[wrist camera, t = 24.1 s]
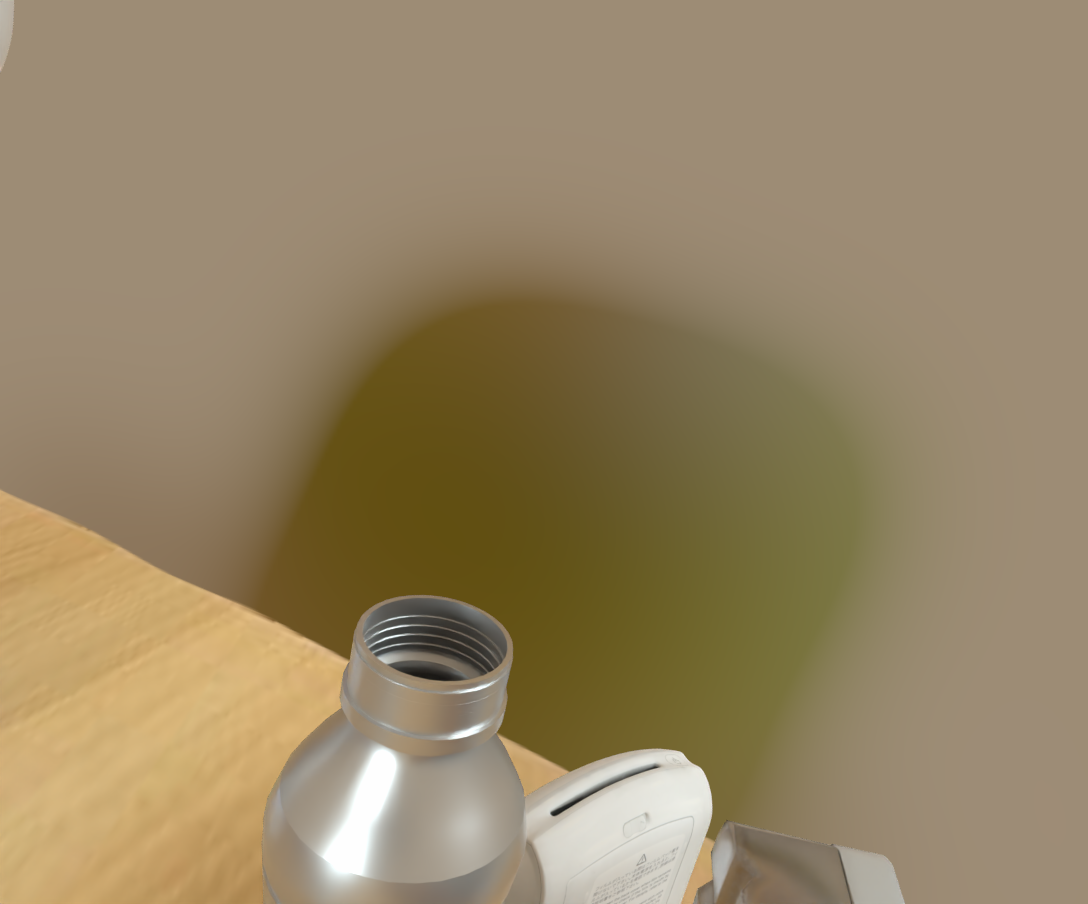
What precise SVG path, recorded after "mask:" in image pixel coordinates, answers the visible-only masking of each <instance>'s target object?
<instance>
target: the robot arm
mask: <svg viewBox="0 0 1088 904" xmlns="http://www.w3.org/2000/svg"><path fill="white" fill-rule="evenodd" d="M13 17H14V0H0V72H1V70H2V68H3V65H4V63H5V60H6V57H7V53H8V50H9V46H10V43H11V38H12V31H13V19H14V18H13ZM711 859H712V872H713V880H711V881H710V882H708V883H706V884H705V885H703V886H702V887H700V888H698V890H697V893H696V896H695V899H694V902H693V904H905V902H904V899H903V896H902V893H901V890H900V887H899V884H898V881H897V877H896V874H895V871H894V868H893V865H892V863H891V862H890V861H889V860H888V859H887V858H886V857H885V856H884V855H880V854H876V853H871V852H866V851H862V850H857V849H853V848H848V847H843V846H839V845H835V844H832V845H827V844H823V843H819V842H815V841H810V840H807V839H803V838H798V837H794V836H790V835H786V834H782V833H778V832H774V831H769V830H765V829H761V828H757V827H753V826H748V825H744V824H740V823H736V822H732V821H728V820H727V821H726V822H725V823H724V825H723V826H722V828H721V830H720V831H719V833H718V836H717V838H716V841H715V843H714V846H713V849H712V851H711Z"/></svg>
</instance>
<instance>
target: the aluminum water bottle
mask: <svg viewBox="0 0 1088 904" xmlns="http://www.w3.org/2000/svg"><path fill="white" fill-rule="evenodd" d="M512 660H513V645H512V640H511V638H510V636H509V633H508V632H507V630H506V629H505V628H504V627H503V626H502V624H501V623H499V622H498V621H497V620H496V619H495V618H494V617H492V616H491V615H489V614H488V613H486V612H484V611H483V610H481V609H479V608H477V607H474V606H472V605H470V604H467V603H464V602H461V601H458V600H454V599H450V598H445V597H438V596H430V595H411V596H401V597H397V598H392V599H388V600H386V601H383V602H380V603H378V604H376V605H375V606H373V607H371V608H370V609H368V610H367V611H366V612H365V613H364V614H363V615H362V616H361V618H360V620H359V622H358V625H357V628H356V630H355V632H354V639H353V645H352V651H351V657H350V662H349V663H348V665H347V667H346V669H345V671H344V673H343V678H342V684H341V691H340V702H341V707H342V708H341V709H339V710H338V711H337V712H335V713H334V714H333V715H331V716H330V717H329V718H327V719H326V720H325V721H324V722H323V723H321V724H320V725H319V726H318V727H317V728H316V729H315V730H314V731H313V732H312V733H311V734H310V735H309V736H307V737H306V738H305V739H304V740H303V741H302V742H301V743H300V745H299V746H298V747H297V748H296V749H295V750H294V751H293V753H292V754H291V755H290V757H289V759H288V760H287V762H286V764H285V766H284V768H283V769H282V771H281V773H280V775H279V777H278V778H277V780H276V782H275V784H274V786H273V788H272V790H271V792H270V794H269V796H268V798H267V803H266V808H265V812H264V820H263V834H262V869H263V904H503V902H504V900H505V898H506V897H507V895H508V893H509V891H510V888H511V886H512V884H513V881H514V879H515V876H516V874H517V871H518V868H519V865H520V863H521V860H522V858H523V855H524V853H525V846H526V839H527V822H526V808H525V798H524V790H523V786H522V784H521V781H520V779H519V776H518V774H517V771H516V769H515V767H514V765H513V763H512V761H511V759H510V757H509V754H508V752H507V750H506V748H505V746H504V745H503V743H502V742H501V740H500V739H499V737H498V736H497V734H496V732H497V730H498V729H499V727H500V725H501V724H502V721H503V717H504V712H505V708H506V703H507V691H506V685H507V681H508V677H509V672H510V669H511V665H512Z"/></svg>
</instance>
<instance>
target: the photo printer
mask: <svg viewBox="0 0 1088 904" xmlns="http://www.w3.org/2000/svg"><path fill="white" fill-rule="evenodd" d="M524 798H525V808H526V822H527V839H526V846H525V853H524V855H523V858H522V860H521V863H520V865H519V868H518V871H517V874H516V876H515V879H514V881H513V884H512V886H511V888H510V891H509V893H508V895H507V897H506V898H505V900H504V902H503V904H681V901H682V899H683V896H684V893H685V890H686V887H687V884H688V882H689V879H690V876H691V874H692V871H693V868H694V866H695V863H696V860H697V857H698V855H699V852H700V849H701V846H702V844H703V841H704V838H705V835H706V833H707V830H708V827H709V824H710V821H711V816H712V798H711V791H710V788H709V783H708V781H707V779H706V776H705V774H704V772H703V770H702V769H701V768H700V767H699V766H696V765H694V764H692V763H691V762H690V761H688V759H687V758H686V757H685V756H684V754H683V753H681V752H679V751H674V750H667V749H645V750H637V751H630V752H626V753H621V754H618V755H614V756H611V757H608V758H604V759H601V760H598V761H595V762H593V763H590V764H588V765H585V766H583V767H580V768H578V769H576V770H574V771H571V772H569V773H567V774H565V775H563V776H561V777H559V778H557V779H555V780H553V781H551V782H549V783H547V784H546V785H544V786H542V787H540V788H539V789H537V790H535V791H534V792H532V793H531V794H529V795H527V796H526V797H524Z"/></svg>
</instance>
